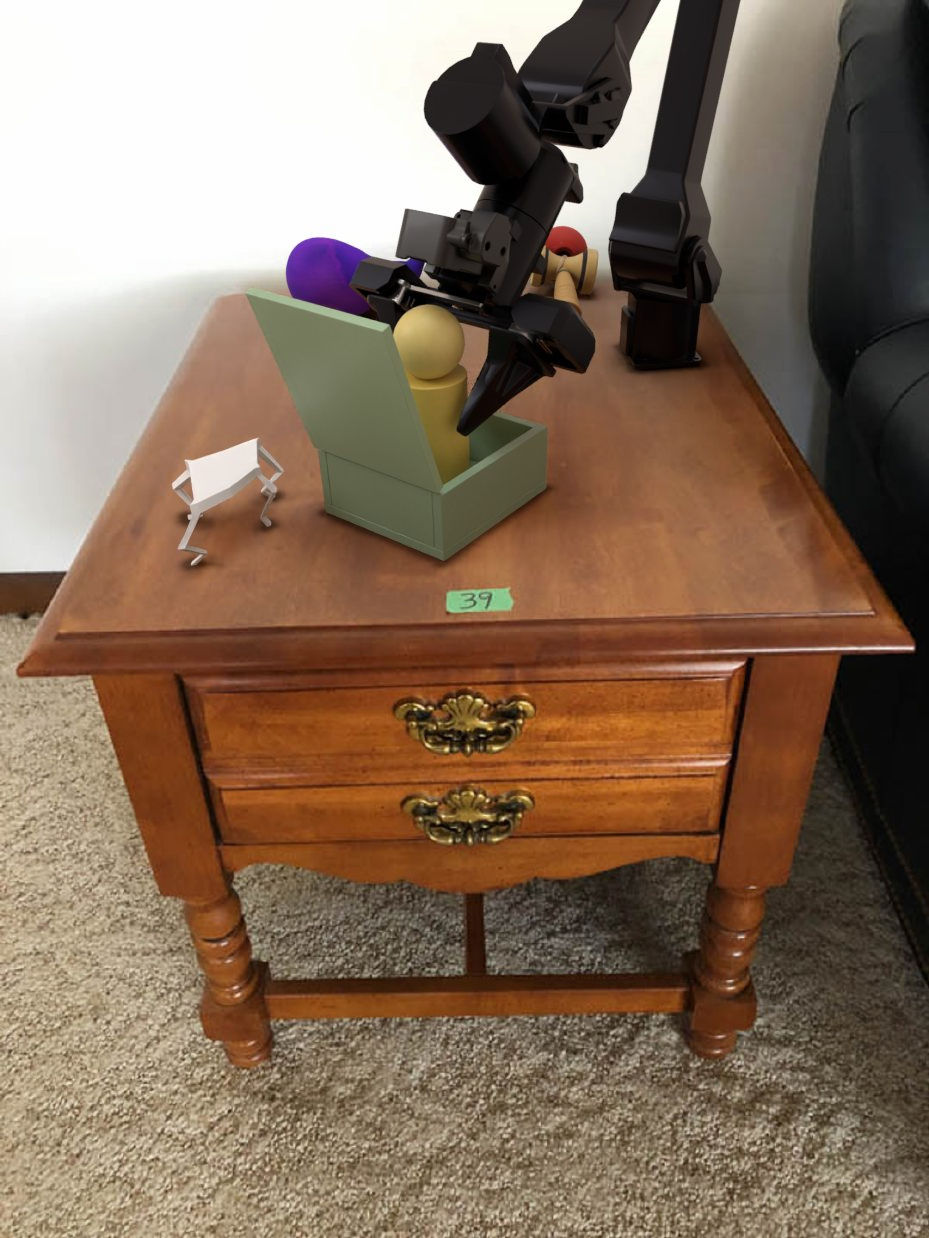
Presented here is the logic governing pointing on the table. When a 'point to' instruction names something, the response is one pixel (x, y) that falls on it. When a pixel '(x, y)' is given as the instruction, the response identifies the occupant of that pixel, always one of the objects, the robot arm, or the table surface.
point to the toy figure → (437, 382)
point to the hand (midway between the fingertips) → (420, 420)
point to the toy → (330, 274)
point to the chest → (444, 490)
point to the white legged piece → (223, 482)
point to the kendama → (568, 265)
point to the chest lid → (348, 386)
